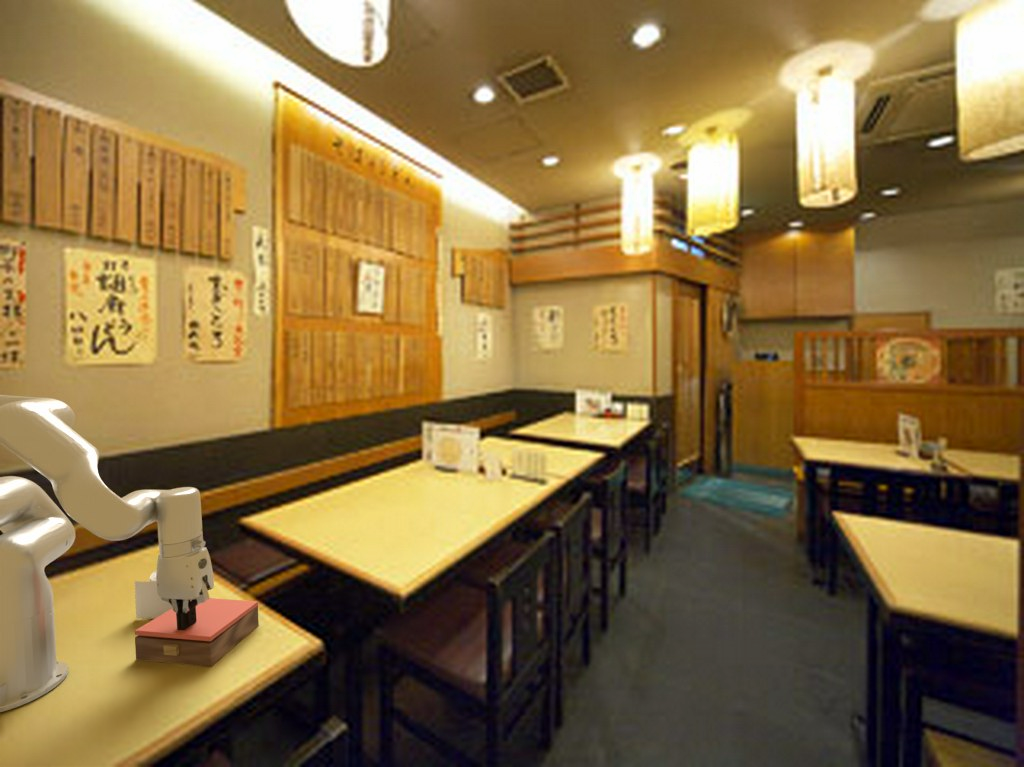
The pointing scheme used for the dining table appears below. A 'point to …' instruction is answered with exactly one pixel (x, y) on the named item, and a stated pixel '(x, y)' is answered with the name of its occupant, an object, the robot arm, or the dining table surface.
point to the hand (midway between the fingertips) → (187, 626)
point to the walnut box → (195, 645)
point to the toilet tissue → (149, 599)
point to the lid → (200, 620)
